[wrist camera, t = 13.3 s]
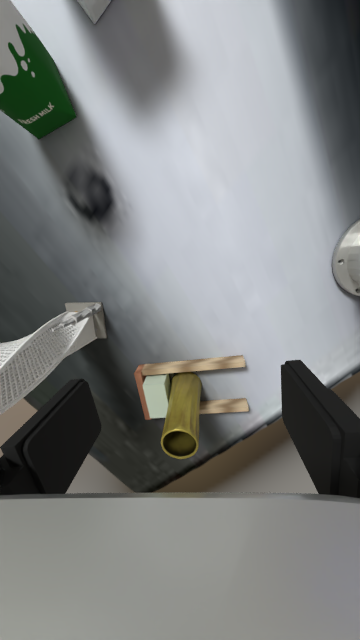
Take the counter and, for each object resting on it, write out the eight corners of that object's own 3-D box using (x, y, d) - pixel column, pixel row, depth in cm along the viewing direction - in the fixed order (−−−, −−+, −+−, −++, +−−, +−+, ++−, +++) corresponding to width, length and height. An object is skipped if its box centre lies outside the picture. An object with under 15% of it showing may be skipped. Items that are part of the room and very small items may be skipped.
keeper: (167, 370, 42) (164, 383, 37) (173, 401, 44) (170, 417, 39) (148, 372, 42) (142, 385, 38) (155, 402, 44) (150, 418, 40)
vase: (207, 386, 42) (210, 448, 29) (184, 402, 44) (177, 468, 30) (187, 365, 41) (181, 419, 28) (165, 382, 43) (148, 440, 29)
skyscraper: (108, 344, 42) (-58, 503, 15) (69, 344, 42) (-153, 494, 16) (101, 302, 39) (-110, 403, 13) (60, 302, 40) (-220, 399, 13)
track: (242, 355, 40) (245, 363, 37) (246, 402, 42) (249, 413, 39) (139, 364, 42) (134, 373, 39) (149, 408, 45) (145, 419, 42)
